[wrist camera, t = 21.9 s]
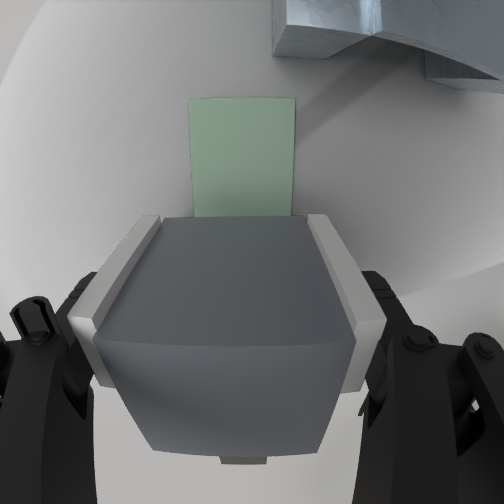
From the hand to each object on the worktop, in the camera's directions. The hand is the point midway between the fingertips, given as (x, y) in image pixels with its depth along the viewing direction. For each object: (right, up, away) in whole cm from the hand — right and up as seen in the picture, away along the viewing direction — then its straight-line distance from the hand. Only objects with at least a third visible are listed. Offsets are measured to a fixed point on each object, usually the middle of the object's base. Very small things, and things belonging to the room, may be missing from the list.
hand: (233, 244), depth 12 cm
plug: (0, -6, +4) cm, 8 cm away
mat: (0, +3, +9) cm, 10 cm away
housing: (+10, +15, +3) cm, 18 cm away
